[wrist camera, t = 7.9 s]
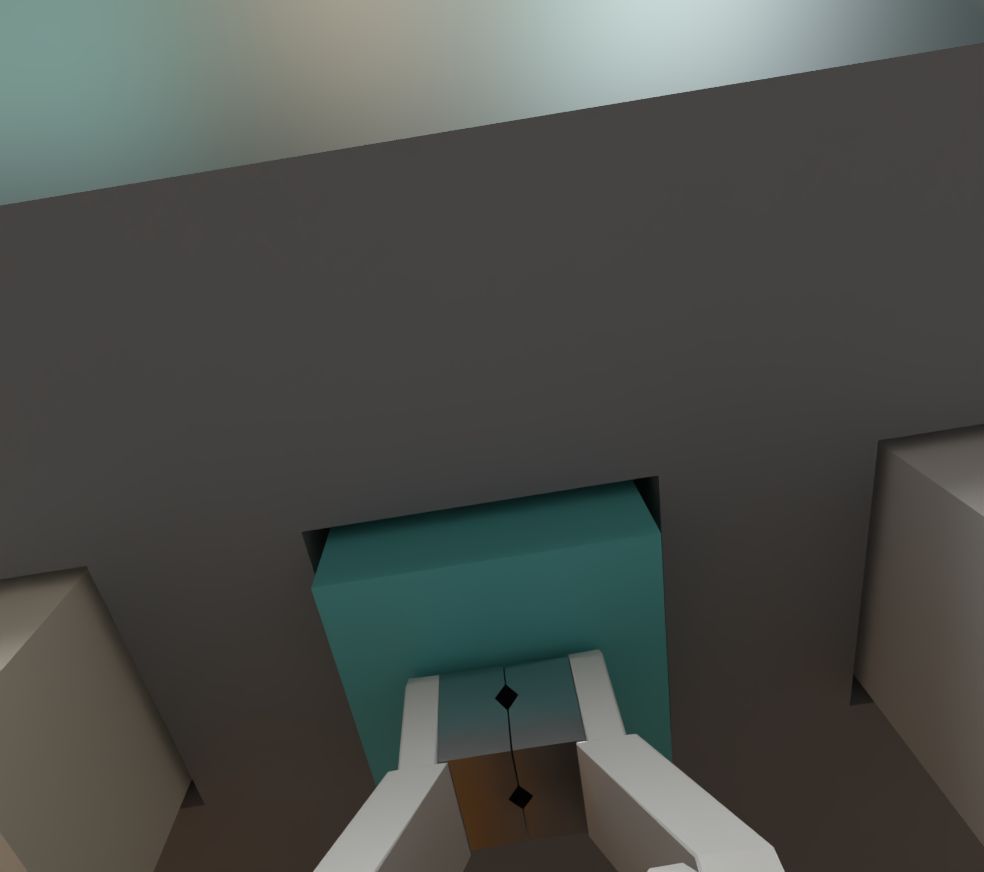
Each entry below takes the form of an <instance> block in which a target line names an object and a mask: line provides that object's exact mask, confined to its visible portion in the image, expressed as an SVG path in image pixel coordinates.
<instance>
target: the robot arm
mask: <svg viewBox="0 0 984 872" xmlns="http://www.w3.org/2000/svg"><path fill="white" fill-rule="evenodd" d="M526 822H527V823H526ZM527 827H528V831H529V836H530V840H534V839H542V838H550V837H559V836H567V835H575V834H583V833H589V837H590V838H591V839H592V840H593V842H594V843H595V844H596V845H597V846H598V848H599V849H600V850H601V851H602V853H603V854H604V855H605V856H606V858H607V859H608V860H609V861H610V862H611V864H612V865H613V866H614V867H615V869H616V870H617V871H618V872H785V871H784V869H783V867H782V865H781V863H780V860H779V858H778V856H777V854H776V852H775V849H774V847H773V846H772V845H770V844H769V843H768V842H767V841H766V840H764V839H763V838H762V837H761V836H760V835H758V834H757V833H756V832H755V831H754V830H752V829H751V828H750V827H749V826H747V825H746V824H745V823H744V822H743V821H741V820H740V819H739V818H738V817H737V816H735V815H734V814H733V813H732V812H731V811H729V810H728V809H727V808H726V807H724V806H723V805H722V804H721V803H720V802H718V801H717V800H716V799H715V798H714V797H712V796H711V795H710V794H709V793H708V792H706V791H705V790H704V789H703V788H702V787H700V786H699V785H698V784H697V783H695V782H694V781H693V780H692V779H691V778H689V777H688V776H687V775H686V774H685V773H683V772H682V771H681V770H680V769H679V768H677V767H676V766H675V765H674V764H673V763H671V762H670V761H669V760H668V759H666V758H665V757H664V756H663V755H662V754H660V753H659V752H658V751H657V750H656V749H654V748H653V747H652V746H651V745H650V744H648V743H647V742H646V741H645V740H643V739H642V738H641V737H640V736H639V735H637V734H630V735H626V732H625V728H624V725H623V722H622V718H621V715H620V712H619V708H618V705H617V701H616V698H615V695H614V691H613V688H612V684H611V681H610V678H609V674H608V671H607V667H606V664H605V661H604V657H603V654H602V652H601V651H600V650H599V649H597V650H591V651H585V652H579V653H573V654H568V657H567V655H563V656H557V657H551V658H545V659H539V660H532V661H526V662H520V663H514V664H508V665H505V669H504V666H497V667H489V668H481V669H474V670H466V671H458V672H451V673H443V674H441V675H434V676H426V677H418V678H409V680H408V682H407V685H406V688H405V699H404V709H403V720H402V731H401V742H400V753H399V764H398V770H395V771H390V772H388V773H387V774H386V775H385V777H384V778H383V779H382V781H381V782H380V783H379V785H378V786H377V787H376V789H375V790H374V791H373V793H372V794H371V795H370V797H369V798H368V799H367V801H366V802H365V803H364V805H363V806H362V807H361V809H360V810H359V811H358V813H357V814H356V815H355V817H354V818H353V819H352V821H351V822H350V823H349V825H348V826H347V827H346V829H345V830H344V831H343V833H342V834H341V835H340V837H339V838H338V839H337V841H336V842H335V843H334V845H333V846H332V847H331V848H330V850H329V851H328V852H327V854H326V855H325V856H324V858H323V859H322V860H321V862H320V863H319V864H318V866H317V867H316V868H315V870H314V871H313V872H463V871H464V869H465V867H466V864H467V862H468V860H469V858H470V856H471V853H470V851H472V850H477V849H483V848H488V847H494V846H499V845H505V844H510V843H516V842H521V841H527V840H528V832H527Z"/></svg>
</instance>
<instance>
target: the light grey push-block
mask: <svg viewBox="0 0 984 872" xmlns="http://www.w3.org/2000/svg"><path fill="white" fill-rule="evenodd" d="M853 674H854V676H855V677H856V678H857V680H858V681H859V682H860V684H861V685H862V686H863V687H864V689H865V690H866V691H867V693H868V694H869V695H870V697H871V698H872V699H873V701H874V702H875V703H876V705H877V706H878V707H879V709H880V710H881V711H882V713H883V714H884V715H885V717H886V718H887V719H888V721H889V722H890V723H891V724H892V726H893V727H894V728H895V730H896V731H897V732H898V734H899V735H900V736H901V738H902V739H903V740H904V742H905V743H906V744H907V746H908V747H909V748H910V750H911V751H912V752H913V754H914V755H915V756H916V758H917V759H918V760H919V762H920V763H921V764H922V765H923V767H924V768H925V769H926V771H927V772H928V773H929V775H930V776H931V777H932V779H933V780H934V781H935V783H936V784H937V785H938V787H939V788H940V789H941V791H942V792H943V793H944V795H945V796H946V797H947V799H948V800H949V801H950V803H951V804H952V805H953V806H954V808H955V809H956V810H957V812H958V813H959V814H960V816H961V817H962V818H963V820H964V821H965V822H966V824H967V825H968V826H969V828H970V829H971V830H972V832H973V833H974V834H975V836H976V837H977V838H978V840H979V841H980V842H981V844H982V845H983V846H984V424H979V425H973V426H966V427H960V428H954V429H947V430H941V431H935V432H928V433H922V434H916V435H910V436H903V437H897V438H891V439H884V440H878V448H877V457H876V466H875V476H874V485H873V494H872V504H871V513H870V522H869V532H868V541H867V550H866V559H865V569H864V578H863V587H862V597H861V606H860V615H859V624H858V634H857V643H856V652H855V662H854V671H853Z"/></svg>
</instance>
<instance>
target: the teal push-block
mask: <svg viewBox="0 0 984 872" xmlns="http://www.w3.org/2000/svg"><path fill="white" fill-rule="evenodd" d="M311 590H312V593H313V596H314V599H315V602H316V605H317V608H318V611H319V614H320V617H321V620H322V623H323V626H324V629H325V632H326V635H327V638H328V641H329V644H330V647H331V650H332V654H333V657H334V660H335V663H336V666H337V669H338V672H339V675H340V678H341V681H342V684H343V687H344V690H345V693H346V696H347V699H348V702H349V705H350V708H351V711H352V714H353V717H354V721H355V724H356V727H357V730H358V733H359V736H360V739H361V742H362V745H363V748H364V751H365V754H366V757H367V760H368V763H369V766H370V769H371V772H372V775H373V778H374V781H375V784H376V787H377V786H378V785H379V783H380V782H381V781H382V779H383V778H384V777H385V775H386V774H387V773H388V772H390V771H395V770H398V764H399V753H400V742H401V731H402V720H403V709H404V699H405V688H406V685H407V682H408V680H409V678H418V677H426V676H434V675H441V674H443V673H451V672H458V671H466V670H474V669H481V668H489V667H497V666H504V669H505V665H508V664H514V663H520V662H526V661H532V660H539V659H545V658H551V657H557V656H563V655H567V657H568V654H573V653H579V652H585V651H591V650H597V649H599V650H600V651H601V652H602V654H603V657H604V661H605V664H606V667H607V671H608V674H609V678H610V681H611V684H612V688H613V691H614V695H615V698H616V701H617V705H618V708H619V712H620V715H621V718H622V722H623V725H624V728H625V732H626V735H630V734H637V735H639V736H640V737H641V738H642V739H643V740H645V741H646V742H647V743H648V744H650V745H651V746H652V747H653V748H654V749H656V750H657V751H658V752H659V753H660V754H662V755H663V756H664V757H665V758H666V759H668V760H669V761H670V762H671V763H672V746H671V726H670V706H669V686H668V666H667V646H666V625H665V605H664V585H663V565H662V545H661V532H660V531H659V529H658V527H657V525H656V523H655V521H654V519H653V518H652V516H651V514H650V512H649V510H648V508H647V506H646V504H645V503H644V501H643V499H642V497H641V495H640V493H639V491H638V489H637V488H636V486H635V484H634V482H633V480H626V481H619V482H613V483H607V484H600V485H594V486H588V487H581V488H575V489H569V490H563V491H556V492H550V493H544V494H537V495H531V496H525V497H518V498H512V499H506V500H499V501H493V502H487V503H481V504H474V505H468V506H462V507H455V508H449V509H443V510H436V511H430V512H424V513H417V514H411V515H405V516H398V517H392V518H386V519H380V520H373V521H367V522H361V523H354V524H348V525H342V526H335V527H331V528H330V531H329V534H328V537H327V540H326V544H325V547H324V550H323V553H322V556H321V559H320V562H319V565H318V568H317V572H316V575H315V578H314V581H313V584H312V587H311Z"/></svg>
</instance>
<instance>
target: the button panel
mask: <svg viewBox="0 0 984 872" xmlns="http://www.w3.org/2000/svg"><path fill="white" fill-rule="evenodd" d="M979 424H984V43H979V44H973V45H967V46H961V47H955V48H950V49H943V50H937V51H931V52H925V53H919V54H913V55H907V56H901V57H895V58H889V59H883V60H877V61H871V62H865V63H858V64H852V65H846V66H840V67H834V68H829V69H822V70H816V71H810V72H805V73H798V74H792V75H786V76H781V77H774V78H768V79H762V80H756V81H750V82H745V83H738V84H732V85H726V86H720V87H714V88H708V89H702V90H696V91H690V92H683V93H677V94H671V95H665V96H660V97H653V98H647V99H641V100H636V101H629V102H623V103H617V104H612V105H605V106H599V107H593V108H587V109H581V110H575V111H569V112H563V113H557V114H551V115H545V116H539V117H533V118H527V119H521V120H515V121H509V122H502V123H496V124H490V125H485V126H479V127H473V128H466V129H460V130H454V131H448V132H442V133H437V134H430V135H425V136H418V137H412V138H406V139H400V140H394V141H388V142H382V143H376V144H370V145H364V146H358V147H352V148H346V149H340V150H334V151H327V152H322V153H315V154H310V155H303V156H298V157H291V158H285V159H280V160H273V161H268V162H261V163H256V164H249V165H243V166H238V167H231V168H225V169H219V170H213V171H207V172H201V173H195V174H189V175H183V176H177V177H171V178H165V179H159V180H153V181H147V182H140V183H135V184H128V185H123V186H116V187H110V188H104V189H98V190H92V191H87V192H80V193H74V194H68V195H62V196H56V197H50V198H44V199H38V200H32V201H26V202H20V203H14V204H8V205H2V206H0V580H1V579H7V578H14V577H20V576H26V575H33V574H39V573H45V572H51V571H58V570H64V569H70V568H77V567H83V566H87V568H88V570H89V572H90V574H91V576H92V578H93V580H94V582H95V584H96V586H97V588H98V590H99V593H100V595H101V597H102V599H103V601H104V603H105V605H106V607H107V609H108V611H109V613H110V615H111V617H112V619H113V621H114V623H115V625H116V627H117V629H118V631H119V633H120V635H121V637H122V639H123V641H124V643H125V645H126V647H127V649H128V651H129V653H130V655H131V657H132V659H133V661H134V663H135V665H136V667H137V669H138V671H139V673H140V675H141V677H142V679H143V681H144V683H145V685H146V687H147V689H148V691H149V693H150V695H151V697H152V699H153V701H154V703H155V705H156V707H157V709H158V711H159V713H160V715H161V717H162V719H163V721H164V723H165V725H166V727H167V729H168V731H169V733H170V735H171V737H172V739H173V741H174V743H175V745H176V747H177V749H178V751H179V753H180V755H181V757H182V759H183V761H184V763H185V765H186V767H187V769H188V771H189V773H190V775H191V777H192V780H191V782H190V785H189V787H188V790H187V792H186V794H185V797H184V799H183V802H182V804H181V806H180V809H179V811H178V814H177V816H176V819H175V821H174V823H173V826H172V828H171V831H170V833H169V836H168V838H167V840H166V843H165V845H164V848H163V850H162V852H161V855H160V857H159V860H158V862H157V865H156V867H155V869H154V872H313V871H314V870H315V868H316V867H317V866H318V864H319V863H320V862H321V860H322V859H323V858H324V856H325V855H326V854H327V852H328V851H329V850H330V848H331V847H332V846H333V845H334V843H335V842H336V841H337V839H338V838H339V837H340V835H341V834H342V833H343V831H344V830H345V829H346V827H347V826H348V825H349V823H350V822H351V821H352V819H353V818H354V817H355V815H356V814H357V813H358V811H359V810H360V809H361V807H362V806H363V805H364V803H365V802H366V801H367V799H368V798H369V797H370V795H371V794H372V793H373V791H374V790H375V789H376V784H375V781H374V778H373V775H372V772H371V769H370V766H369V763H368V760H367V757H366V754H365V751H364V748H363V745H362V742H361V739H360V736H359V733H358V730H357V727H356V724H355V721H354V717H353V714H352V711H351V708H350V705H349V702H348V699H347V696H346V693H345V690H344V687H343V684H342V681H341V678H340V675H339V672H338V669H337V666H336V663H335V660H334V657H333V654H332V650H331V647H330V644H329V641H328V638H327V635H326V632H325V629H324V626H323V623H322V620H321V617H320V614H319V611H318V608H317V605H316V602H315V599H314V596H313V593H312V590H311V587H312V584H313V581H314V578H315V575H316V572H317V568H318V565H319V562H320V559H321V556H322V553H323V550H324V547H325V544H326V540H327V537H328V534H329V531H330V528H331V527H335V526H342V525H348V524H354V523H361V522H367V521H373V520H380V519H386V518H392V517H398V516H405V515H411V514H417V513H424V512H430V511H436V510H443V509H449V508H455V507H462V506H468V505H474V504H481V503H487V502H493V501H499V500H506V499H512V498H518V497H525V496H531V495H537V494H544V493H550V492H556V491H563V490H569V489H575V488H581V487H588V486H594V485H600V484H607V483H613V482H619V481H626V480H633V482H634V484H635V486H636V488H637V489H638V491H639V493H640V495H641V497H642V499H643V501H644V503H645V504H646V506H647V508H648V510H649V512H650V514H651V516H652V518H653V519H654V521H655V523H656V525H657V527H658V529H659V531H660V532H661V545H662V565H663V585H664V605H665V625H666V646H667V666H668V686H669V706H670V726H671V746H672V763H673V764H674V765H675V766H676V767H677V768H679V769H680V770H681V771H682V772H683V773H685V774H686V775H687V776H688V777H689V778H691V779H692V780H693V781H694V782H695V783H697V784H698V785H699V786H700V787H702V788H703V789H704V790H705V791H706V792H708V793H709V794H710V795H711V796H712V797H714V798H715V799H716V800H717V801H718V802H720V803H721V804H722V805H723V806H724V807H726V808H727V809H728V810H729V811H731V812H732V813H733V814H734V815H735V816H737V817H738V818H739V819H740V820H741V821H743V822H744V823H745V824H746V825H747V826H749V827H750V828H751V829H752V830H754V831H755V832H756V833H757V834H758V835H760V836H761V837H762V838H763V839H764V840H766V841H767V842H768V843H769V844H770V845H772V846H773V847H774V849H775V852H776V854H777V856H778V858H779V860H780V863H781V865H782V867H783V869H784V871H785V872H984V846H983V845H982V844H981V842H980V841H979V840H978V838H977V837H976V836H975V834H974V833H973V832H972V830H971V829H970V828H969V826H968V825H967V824H966V822H965V821H964V820H963V818H962V817H961V816H960V814H959V813H958V812H957V810H956V809H955V808H954V806H953V805H952V804H951V803H950V801H949V800H948V799H947V797H946V796H945V795H944V793H943V792H942V791H941V789H940V788H939V787H938V785H937V784H936V783H935V781H934V780H933V779H932V777H931V776H930V775H929V773H928V772H927V771H926V769H925V768H924V767H923V765H922V764H921V763H920V762H919V760H918V759H917V758H916V756H915V755H914V754H913V752H912V751H911V750H910V748H909V747H908V746H907V744H906V743H905V742H904V740H903V739H902V738H901V736H900V735H899V734H898V732H897V731H896V730H895V728H894V727H893V726H892V724H891V723H890V722H889V721H888V719H887V718H886V717H885V715H884V714H883V713H882V711H881V710H880V709H879V707H878V706H877V705H876V703H875V702H874V701H873V699H872V698H871V697H870V695H869V694H868V693H867V691H866V690H865V689H864V687H863V686H862V685H861V684H860V682H859V681H858V680H857V678H856V677H855V676H854V674H853V671H854V662H855V652H856V643H857V634H858V624H859V615H860V606H861V597H862V587H863V578H864V569H865V559H866V550H867V541H868V532H869V522H870V513H871V504H872V494H873V485H874V476H875V466H876V457H877V448H878V440H884V439H891V438H897V437H903V436H910V435H916V434H922V433H928V432H935V431H941V430H947V429H954V428H960V427H966V426H973V425H979ZM526 823H527V822H526ZM527 832H528V840H527V841H521V842H516V843H510V844H505V845H499V846H494V847H488V848H483V849H477V850H472V851H470V853H471V856H470V858H469V860H468V862H467V864H466V867H465V869H464V871H463V872H618V871H617V870H616V869H615V867H614V866H613V865H612V864H611V862H610V861H609V860H608V859H607V858H606V856H605V855H604V854H603V853H602V851H601V850H600V849H599V848H598V846H597V845H596V844H595V843H594V842H593V840H592V839H591V838H590V837H589V833H583V834H575V835H567V836H559V837H550V838H542V839H534V840H530V836H529V831H528V827H527Z"/></svg>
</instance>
